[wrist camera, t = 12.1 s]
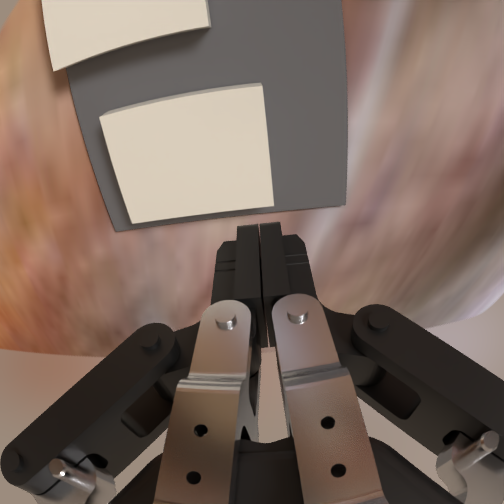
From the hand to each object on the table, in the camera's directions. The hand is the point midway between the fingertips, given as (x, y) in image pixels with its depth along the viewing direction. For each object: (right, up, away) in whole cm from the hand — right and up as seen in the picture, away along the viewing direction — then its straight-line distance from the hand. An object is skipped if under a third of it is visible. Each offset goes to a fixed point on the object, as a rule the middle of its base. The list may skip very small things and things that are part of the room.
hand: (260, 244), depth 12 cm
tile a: (-3, +16, 0) cm, 16 cm away
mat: (-3, +11, +6) cm, 13 cm away
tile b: (+1, +6, +8) cm, 10 cm away
